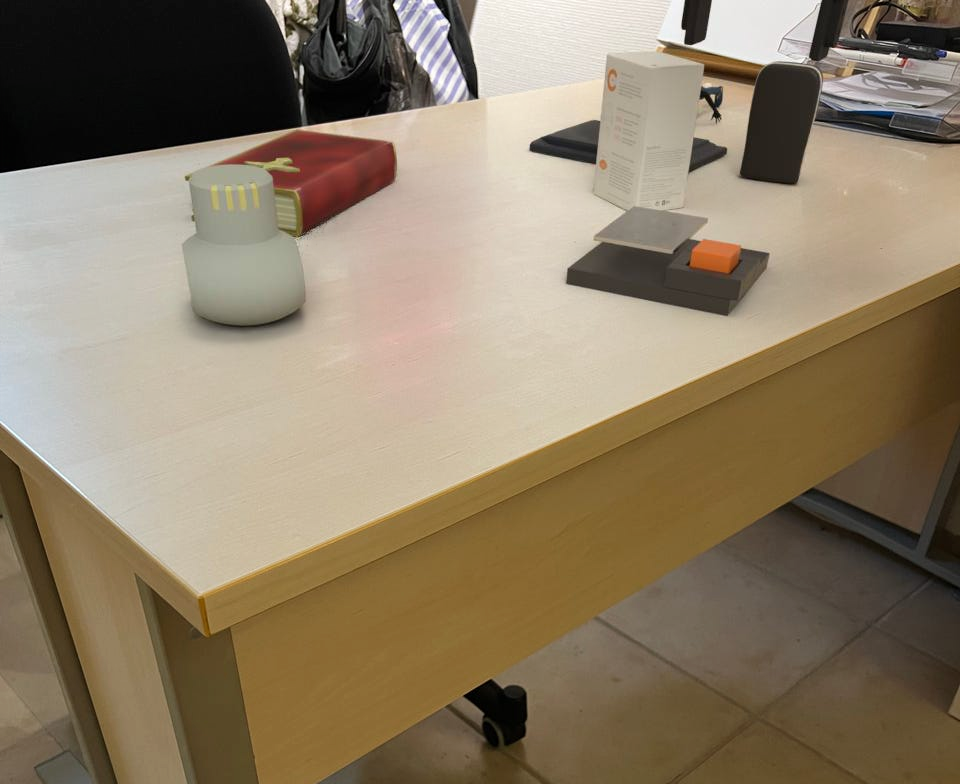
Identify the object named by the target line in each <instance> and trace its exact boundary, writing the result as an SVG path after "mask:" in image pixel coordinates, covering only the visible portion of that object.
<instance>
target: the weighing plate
mask: <svg viewBox="0 0 960 784" xmlns="http://www.w3.org/2000/svg"><path fill="white" fill-rule="evenodd" d="M708 220H709V218H708V217H703V216H696V215H691V214H685V213H679V212H672V211H668V210H664V211H661V210H655V209H649V208H643V207H637V206H633V207H632V208H631V209H629V210H628V211H627V210H626V211H625V212H624V213H623V214H621V215H620V216H618V217H617V218H615V220H613V221H612V222H611V223H609V224H607V226H605V227H604V228H603V229H600V231H598V232H597V233H595V234H594V235H593V241H595V242H596V241H597V242H600V243H601V242H606V243H611V244H617V245H622V246H628V247H633V248H639V249H644V250H650V251H655V252H661V253H666V254H672V255H673V254H674V253H675V252H676V251H677V250H678V249H679V248H680V247H682V246H683V245H684V244H685V243H686V242H687V241H688V240H689V239H692V238H693V237H694V236H695V235H696V234H697V233H698V232H699V231H700V230H701V229H702V228H703V227H704V226H706V224H708V222H709V221H708Z"/></svg>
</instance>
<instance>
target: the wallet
mask: <svg viewBox="0 0 960 784" xmlns="http://www.w3.org/2000/svg"><path fill="white" fill-rule="evenodd" d="M599 130H600V119H592V120H588V121H585V122H581V123H578V124H576V125H572V126H569V127H566V128H563V129H560V130H557V131H555V132H553V133H549V134H546V135H543V136H540V137H539V138H537V139H534V140H532V141H531V142H530V143H529V149H528V150H529V151H530V152H534V153H539V154H544V155H548V156H554V157H559V158H564V159H569V160H574V161H578V162H585V163H588V164H589V163H590V164H594V165H596V160H597V150H598V140H599ZM727 152H728V148H727V147H726V146H721V145H717V144H715V142H711V141H710V140H709V139H706V138H699V137H695V136H694V138H693V145H692V151H691V158H690V165H689V171H688V173H690V172H691V171H693V170H696V169H697V168H700V167H702V166H704V165H706V164H708V163H710V162H713V161H716V160H717V159H719V158H721V157H724V156H726V155H727Z"/></svg>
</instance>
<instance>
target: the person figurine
mask: <svg viewBox="0 0 960 784" xmlns="http://www.w3.org/2000/svg"><path fill="white" fill-rule="evenodd" d="M713 95H714V100H713V98H712V96H713ZM723 99H724V86H722V85H720V86H713V84H712V83H711V82H706V83H703V85H701V92H700V98H699V101H703V100H705V102H706V103H707V104H708V106H709V107H710V109H711V110H712V112H713V113H712V115H711V118H710V120H711V121H713V119H714V120H715V124H718V123H721V120H722V114H721V113H720V111H719V110H718V108H720V106H721V105H722V104H723V101H724V100H723Z"/></svg>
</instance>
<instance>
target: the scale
mask: <svg viewBox="0 0 960 784" xmlns="http://www.w3.org/2000/svg"><path fill="white" fill-rule="evenodd" d="M701 241H702V240H697V239H692V238H690V239H689V240H688V241H687V242H686V243H685V244H684V245H683V246H682V247H680V248H679V249H678V250H677V251H676V252H675V253H674V254H673V255H672V254H666V253H661V252H655V251H650V250H644V249H639V248H633V247H628V246H622V245H617V244H611V243H606V242H600V243H599V244H597V245H596V246H594V247H593V248H591V250H589V251H588V252H586V254H584V255H583V256H582V257H580V258H579V259H577V260H576V261H575V262H574V263H573V264H571V265H570V266H569V267H567V269H566V270H567V271H566V280H565V281H566V282H565V284H566V285H568V286H574V287H578V288H579V287H580V288H584V289H589V290H595V291H599V292H605V293H609V294H614V295H618V296H624V297H629V298H634V299H640V300H644V301H650V302H654V303H659V304H663V305H664V304H665V305H668V306H673V307H679V308H684V309H690V310H695V311H700V312H704V313H709V314H715V315H719V316H724V317H728V316H729V315H730V314H731V313H732V311H733V310H734V309H735V308H736V307H737V306H738V304H739V303H740V302H741V300H742V299H743V298H744V297H745V296H746V294H748V292H749V291H750V289H751V288H752V287H753V286H754V285H755V283H757V281H758V280H759V278H760V277H761V276H762V275H763V273H764V272H765V271H766V270H767V268H768V264H769V259H770V252H768V251H767V252H766V251H760V250H756V249H749V248H743V247H741V251H740V256H739V261H738V265H737V266H736V267H735V268H734V269H733V270H732V271H731V272H730V274H729V273H724V272H718V271H713V270H708V269H702V268H697V267H691V266H690V260H691V254H692V250H693V249H694V248H695V247H696V246H697V245H698V244H699V243H700V242H701Z"/></svg>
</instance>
